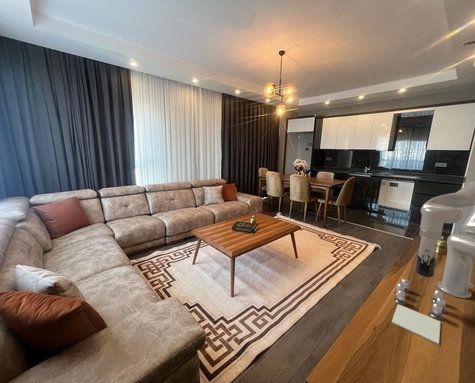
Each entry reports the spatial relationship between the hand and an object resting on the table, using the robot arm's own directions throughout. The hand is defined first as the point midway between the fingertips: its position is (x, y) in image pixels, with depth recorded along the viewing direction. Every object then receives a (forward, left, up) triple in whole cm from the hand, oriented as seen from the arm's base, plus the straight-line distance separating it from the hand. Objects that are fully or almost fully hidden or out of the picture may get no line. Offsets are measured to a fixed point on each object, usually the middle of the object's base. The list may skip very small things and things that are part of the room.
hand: (424, 267), depth 99 cm
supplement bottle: (0, 0, -3) cm, 3 cm away
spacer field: (0, 0, -19) cm, 19 cm away
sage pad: (+14, +11, -19) cm, 26 cm away
